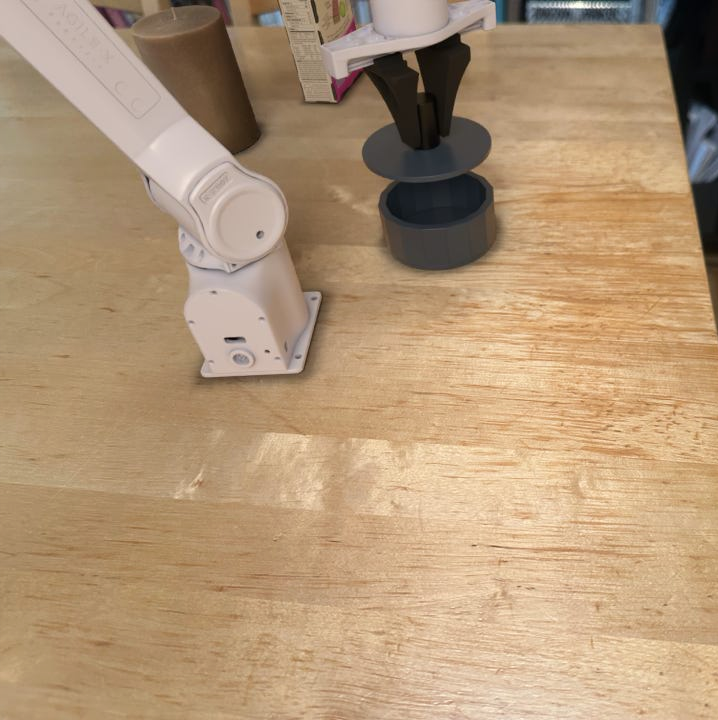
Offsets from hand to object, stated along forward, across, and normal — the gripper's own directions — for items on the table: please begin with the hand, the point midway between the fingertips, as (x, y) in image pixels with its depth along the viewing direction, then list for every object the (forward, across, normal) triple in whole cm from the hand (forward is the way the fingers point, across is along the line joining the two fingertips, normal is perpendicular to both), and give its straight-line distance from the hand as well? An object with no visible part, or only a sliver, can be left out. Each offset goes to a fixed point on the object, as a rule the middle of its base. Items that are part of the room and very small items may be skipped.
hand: (425, 138), depth 56 cm
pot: (+10, 0, +1) cm, 10 cm away
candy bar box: (+10, -8, -39) cm, 41 cm away
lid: (+1, 0, 0) cm, 1 cm away
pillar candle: (+10, +9, -34) cm, 37 cm away
